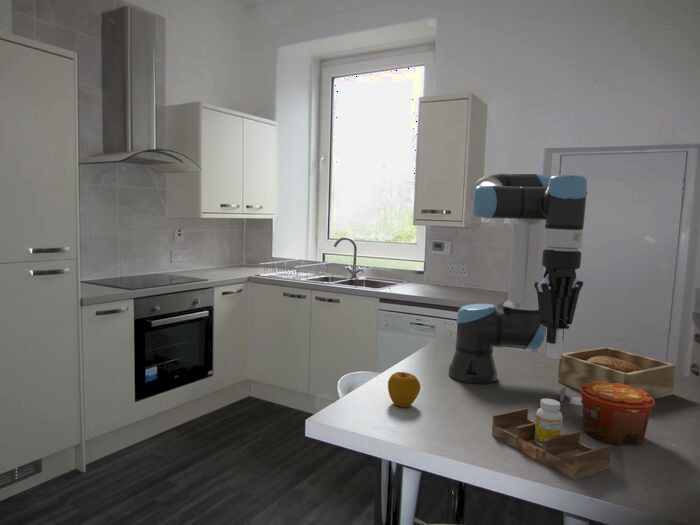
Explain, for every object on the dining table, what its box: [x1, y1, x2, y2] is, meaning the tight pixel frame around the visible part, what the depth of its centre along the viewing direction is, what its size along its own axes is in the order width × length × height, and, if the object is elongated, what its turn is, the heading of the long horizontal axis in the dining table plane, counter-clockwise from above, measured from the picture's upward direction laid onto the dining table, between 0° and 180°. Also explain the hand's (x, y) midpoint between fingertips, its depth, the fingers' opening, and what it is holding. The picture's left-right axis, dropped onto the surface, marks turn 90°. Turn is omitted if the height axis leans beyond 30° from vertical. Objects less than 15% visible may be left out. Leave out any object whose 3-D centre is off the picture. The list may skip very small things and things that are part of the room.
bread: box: [587, 356, 642, 373], centre depth 152 cm, size 20×18×10 cm
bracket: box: [559, 384, 582, 407], centre depth 139 cm, size 7×10×4 cm, turn 57°
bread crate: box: [557, 346, 676, 400], centre depth 152 cm, size 22×24×9 cm
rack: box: [491, 407, 612, 481], centre depth 108 cm, size 22×11×5 cm, turn 29°
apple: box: [387, 371, 421, 408], centre depth 132 cm, size 9×8×9 cm
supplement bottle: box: [534, 398, 563, 447], centre depth 108 cm, size 5×5×10 cm
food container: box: [578, 381, 656, 447], centre depth 118 cm, size 16×16×11 cm
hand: (553, 357), depth 107 cm, fingers closed
